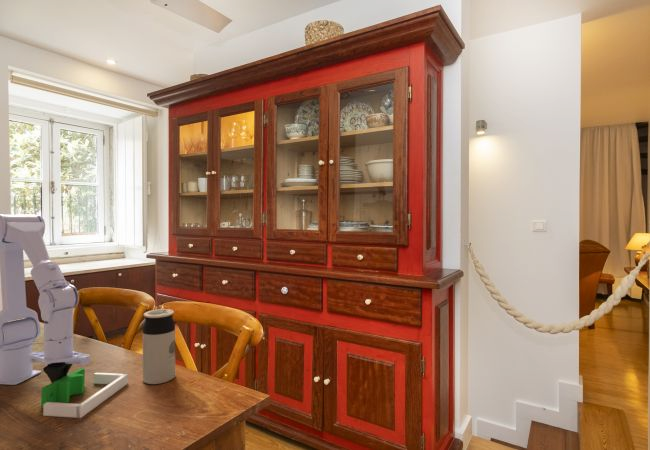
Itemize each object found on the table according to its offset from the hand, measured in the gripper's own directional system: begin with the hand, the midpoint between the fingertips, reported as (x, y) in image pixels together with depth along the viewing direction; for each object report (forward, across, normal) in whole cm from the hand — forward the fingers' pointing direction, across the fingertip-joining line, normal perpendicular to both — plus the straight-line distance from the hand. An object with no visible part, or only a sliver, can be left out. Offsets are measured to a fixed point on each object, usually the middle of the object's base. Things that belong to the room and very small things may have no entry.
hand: (59, 392), depth 90 cm
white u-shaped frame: (+1, +8, 0) cm, 8 cm away
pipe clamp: (+1, +2, 0) cm, 3 cm away
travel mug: (+1, +19, +12) cm, 22 cm away
